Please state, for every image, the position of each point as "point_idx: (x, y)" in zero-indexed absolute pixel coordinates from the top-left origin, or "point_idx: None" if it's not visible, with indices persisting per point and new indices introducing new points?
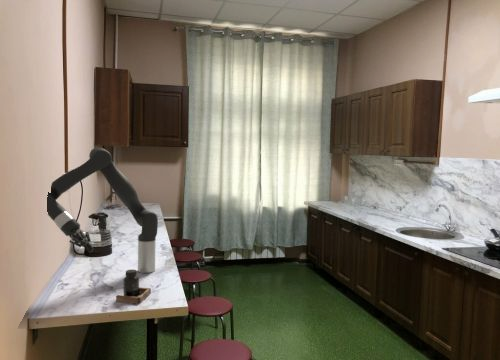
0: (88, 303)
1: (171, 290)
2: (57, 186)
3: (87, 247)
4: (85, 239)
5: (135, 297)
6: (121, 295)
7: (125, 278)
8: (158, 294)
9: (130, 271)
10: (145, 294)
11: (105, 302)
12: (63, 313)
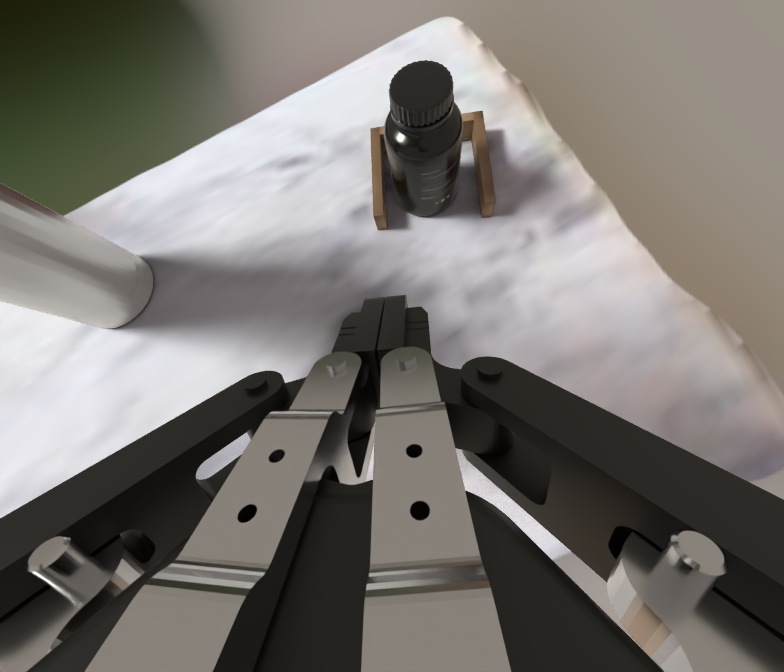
0: (553, 306)
1: (326, 101)
2: None
3: (429, 341)
4: (341, 414)
5: (483, 127)
6: (482, 184)
7: (451, 130)
8: (375, 120)
9: (429, 83)
10: None
11: (515, 248)
12: (697, 341)
